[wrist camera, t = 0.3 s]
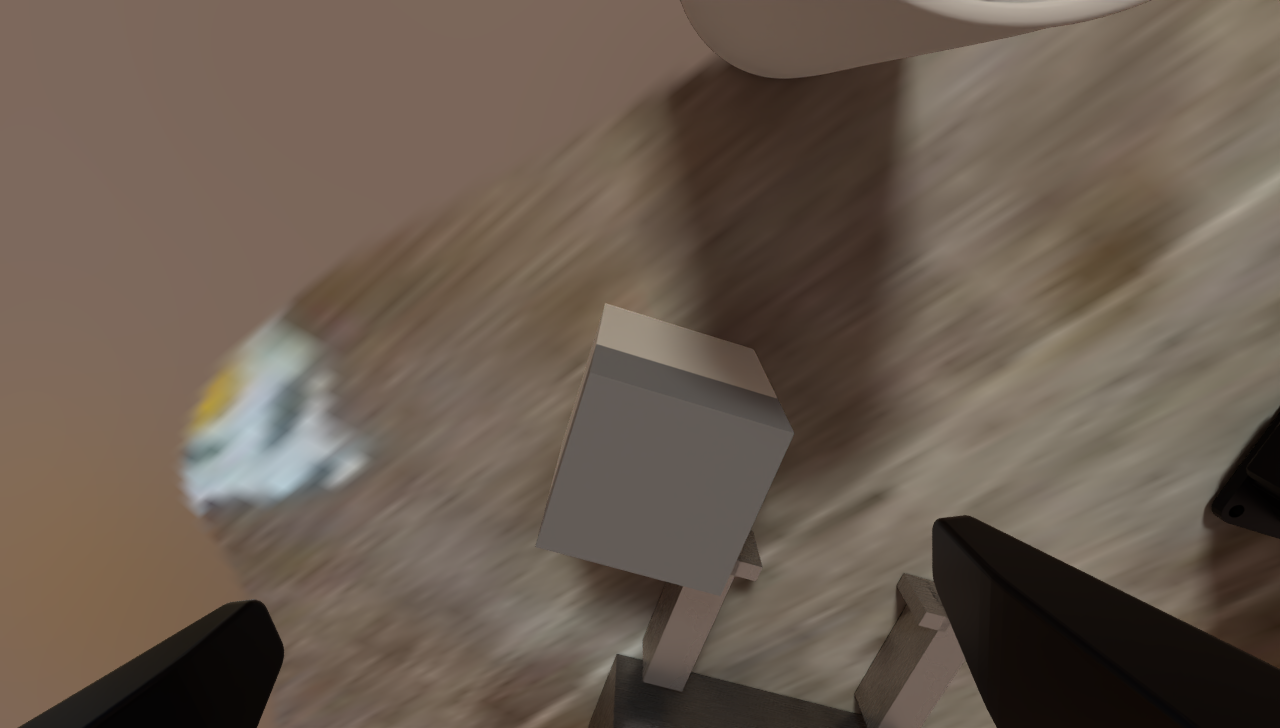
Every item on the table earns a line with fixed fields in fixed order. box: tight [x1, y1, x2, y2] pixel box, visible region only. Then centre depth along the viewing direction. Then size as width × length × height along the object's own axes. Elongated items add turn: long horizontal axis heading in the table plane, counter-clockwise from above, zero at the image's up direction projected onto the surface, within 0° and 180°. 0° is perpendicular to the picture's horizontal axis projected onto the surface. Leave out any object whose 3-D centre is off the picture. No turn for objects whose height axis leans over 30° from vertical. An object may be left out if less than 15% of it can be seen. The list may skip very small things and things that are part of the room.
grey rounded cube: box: [535, 303, 794, 596], centre depth 18 cm, size 5×5×6 cm
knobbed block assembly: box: [588, 531, 965, 728], centre depth 23 cm, size 11×12×5 cm
